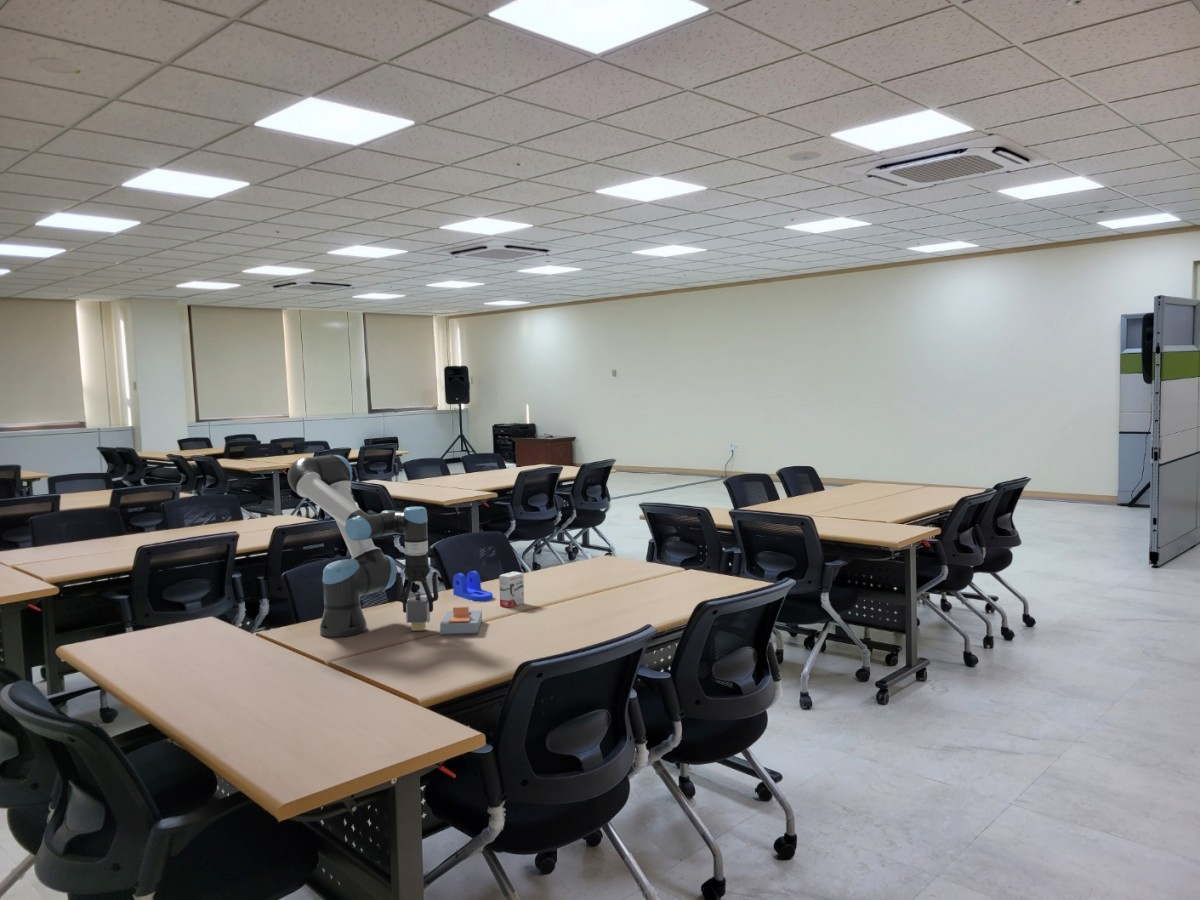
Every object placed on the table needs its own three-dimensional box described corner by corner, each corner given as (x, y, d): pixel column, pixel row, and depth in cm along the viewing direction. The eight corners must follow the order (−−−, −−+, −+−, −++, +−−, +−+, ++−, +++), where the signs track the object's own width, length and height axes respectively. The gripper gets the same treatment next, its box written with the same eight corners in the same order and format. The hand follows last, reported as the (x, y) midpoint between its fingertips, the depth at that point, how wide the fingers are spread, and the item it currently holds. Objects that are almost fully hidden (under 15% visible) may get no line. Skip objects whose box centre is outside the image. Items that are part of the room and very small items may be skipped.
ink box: (509, 608, 305) (508, 576, 304) (499, 606, 308) (498, 575, 307) (524, 603, 312) (524, 572, 311) (515, 601, 315) (514, 571, 314)
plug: (407, 631, 275) (406, 595, 274) (411, 626, 281) (410, 591, 280) (426, 631, 275) (425, 595, 274) (429, 625, 281) (428, 591, 280)
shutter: (448, 622, 272) (448, 612, 272) (451, 617, 278) (451, 607, 278) (468, 621, 272) (468, 611, 272) (471, 616, 279) (470, 606, 278)
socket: (440, 636, 271) (440, 624, 271) (447, 622, 287) (447, 611, 287) (477, 634, 272) (477, 622, 272) (482, 621, 288) (481, 610, 287)
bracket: (453, 595, 328) (452, 572, 328) (471, 591, 334) (470, 569, 333) (478, 603, 315) (477, 579, 314) (496, 599, 320) (496, 576, 319)
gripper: (385, 556, 272) (387, 625, 274) (443, 555, 273) (445, 624, 275) (390, 551, 280) (392, 619, 281) (446, 550, 280) (448, 617, 282)
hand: (418, 621), depth 278 cm, fingers closed on plug, 6 cm apart
